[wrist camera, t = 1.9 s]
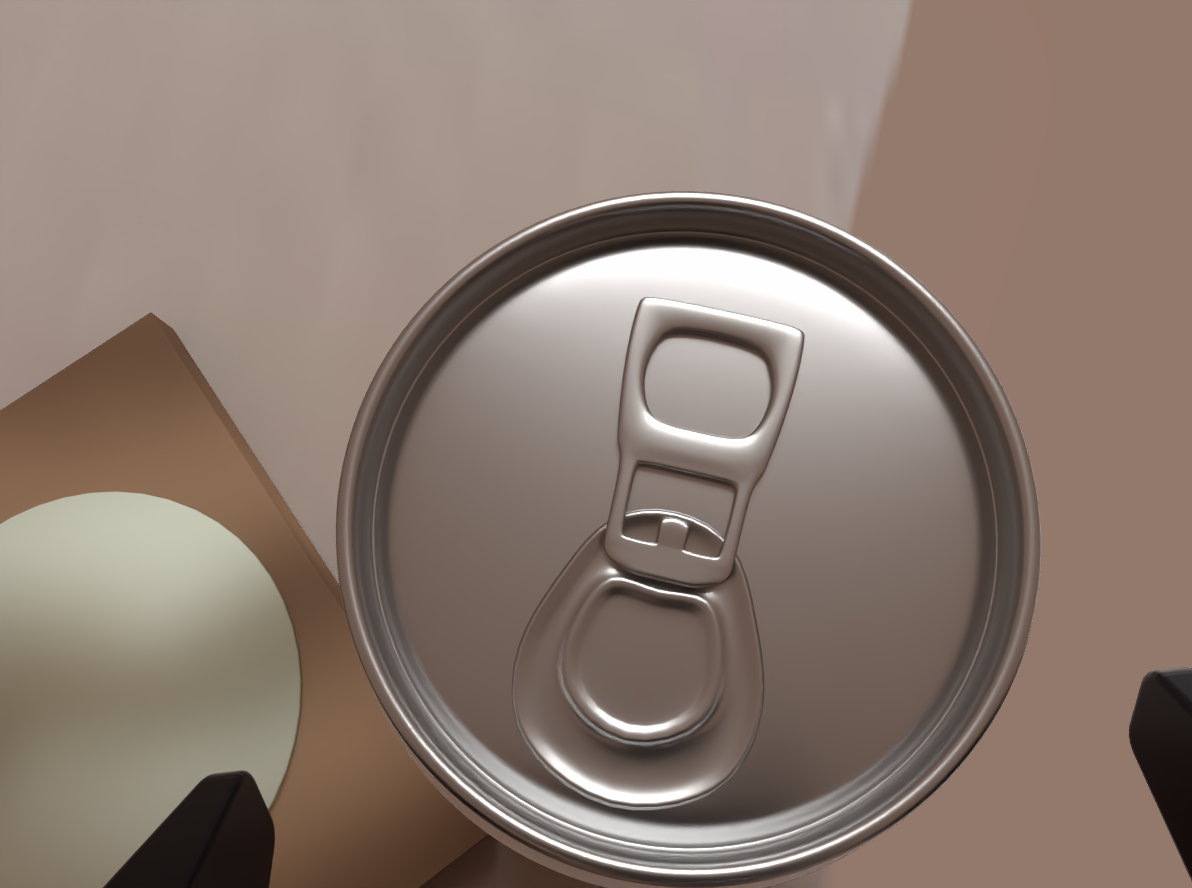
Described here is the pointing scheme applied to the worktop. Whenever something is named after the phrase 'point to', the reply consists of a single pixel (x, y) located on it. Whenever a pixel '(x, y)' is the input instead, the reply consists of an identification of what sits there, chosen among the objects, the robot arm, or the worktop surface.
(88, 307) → the worktop surface
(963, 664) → the can
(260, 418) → the worktop surface
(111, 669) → the coaster board
